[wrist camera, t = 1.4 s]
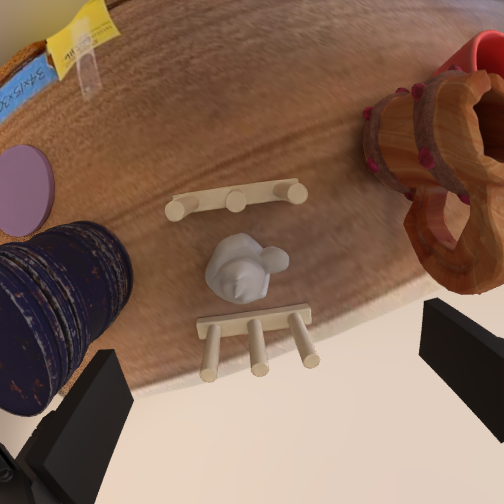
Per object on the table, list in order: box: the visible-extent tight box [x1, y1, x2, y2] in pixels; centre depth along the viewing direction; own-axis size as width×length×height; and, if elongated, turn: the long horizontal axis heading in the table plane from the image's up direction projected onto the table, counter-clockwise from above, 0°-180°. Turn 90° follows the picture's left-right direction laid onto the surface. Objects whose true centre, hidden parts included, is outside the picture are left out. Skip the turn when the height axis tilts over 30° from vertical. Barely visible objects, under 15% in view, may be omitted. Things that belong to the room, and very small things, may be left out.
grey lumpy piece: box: [205, 233, 289, 305], centre depth 23 cm, size 5×7×8 cm
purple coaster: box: [0, 145, 54, 237], centre depth 23 cm, size 9×9×1 cm
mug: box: [363, 65, 504, 295], centre depth 18 cm, size 15×8×15 cm, turn 2°
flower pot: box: [430, 30, 504, 80], centre depth 19 cm, size 11×11×10 cm
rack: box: [165, 178, 320, 382], centre depth 23 cm, size 13×10×8 cm
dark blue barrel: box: [0, 221, 133, 417], centre depth 17 cm, size 10×10×18 cm
